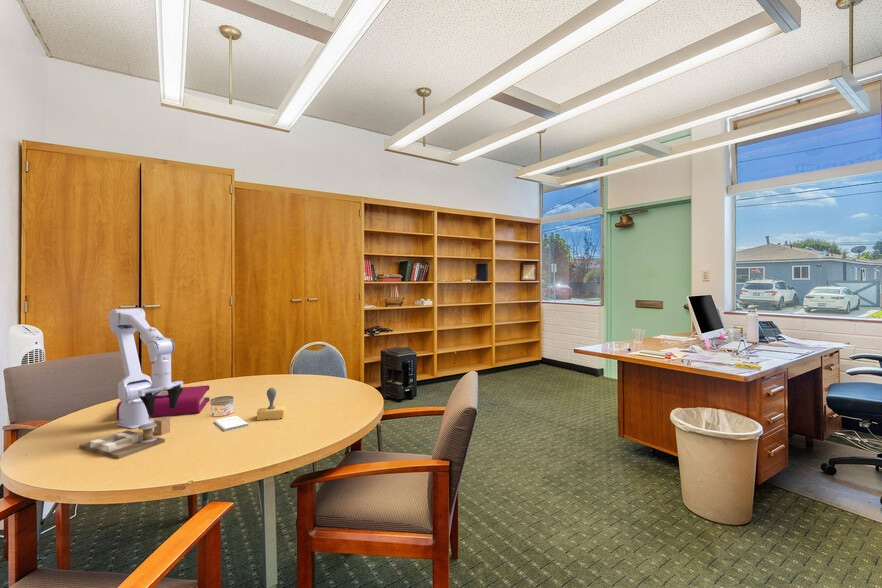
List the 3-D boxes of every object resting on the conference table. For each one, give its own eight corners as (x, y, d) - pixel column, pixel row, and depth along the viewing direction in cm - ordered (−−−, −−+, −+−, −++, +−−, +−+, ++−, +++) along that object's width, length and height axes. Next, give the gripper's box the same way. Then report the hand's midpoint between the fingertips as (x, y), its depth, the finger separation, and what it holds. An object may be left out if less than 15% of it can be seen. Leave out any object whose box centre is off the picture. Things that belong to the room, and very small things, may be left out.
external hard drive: (224, 433, 145) (214, 424, 154) (248, 427, 151) (237, 419, 160) (224, 428, 145) (214, 419, 154) (248, 423, 151) (237, 415, 160)
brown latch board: (79, 448, 130) (79, 429, 129) (126, 433, 143) (126, 416, 142) (118, 458, 122) (118, 439, 122) (165, 441, 135) (164, 424, 135)
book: (199, 414, 164) (199, 396, 164) (116, 422, 154) (115, 402, 154) (210, 400, 184) (209, 383, 183) (136, 406, 174) (136, 388, 174)
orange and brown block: (153, 433, 143) (153, 419, 142) (162, 430, 145) (162, 417, 145) (161, 435, 141) (161, 421, 141) (170, 432, 144) (169, 418, 144)
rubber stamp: (256, 420, 157) (256, 390, 157) (259, 415, 163) (259, 386, 162) (283, 419, 159) (283, 389, 159) (285, 414, 165) (285, 385, 164)
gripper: (147, 378, 134) (148, 419, 135) (188, 370, 148) (189, 406, 148) (133, 376, 137) (134, 416, 137) (175, 368, 150) (176, 404, 151)
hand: (161, 411), depth 143 cm, fingers open, 7 cm apart
